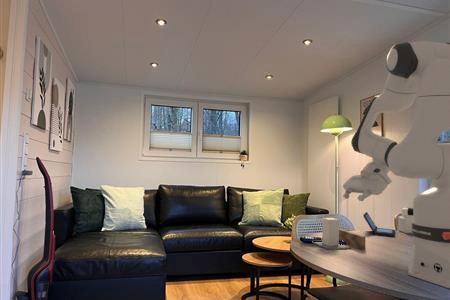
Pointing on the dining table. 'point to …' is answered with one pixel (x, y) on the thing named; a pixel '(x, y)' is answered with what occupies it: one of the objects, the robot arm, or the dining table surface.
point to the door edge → (352, 239)
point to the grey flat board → (335, 247)
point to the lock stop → (330, 231)
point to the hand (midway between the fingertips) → (352, 198)
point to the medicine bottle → (405, 220)
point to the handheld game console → (378, 230)
